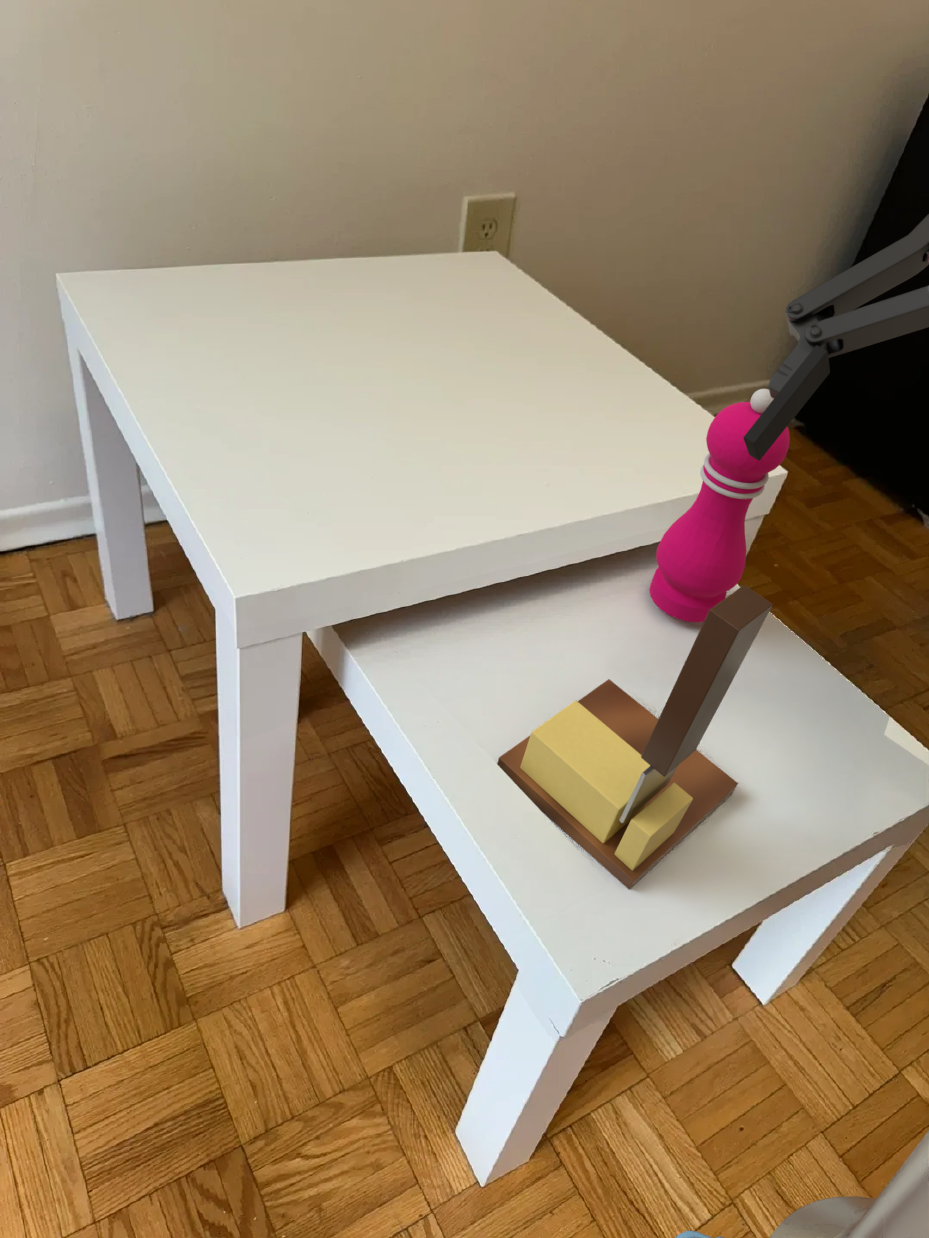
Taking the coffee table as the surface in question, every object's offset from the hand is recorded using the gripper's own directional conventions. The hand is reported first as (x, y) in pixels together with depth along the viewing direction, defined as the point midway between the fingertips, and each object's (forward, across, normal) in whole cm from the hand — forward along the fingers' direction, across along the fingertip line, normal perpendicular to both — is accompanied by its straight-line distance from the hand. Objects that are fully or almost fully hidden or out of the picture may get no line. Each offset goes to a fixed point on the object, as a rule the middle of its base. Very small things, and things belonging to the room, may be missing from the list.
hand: (852, 512), depth 51 cm
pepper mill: (+8, +12, -26) cm, 29 cm away
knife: (+21, 0, -6) cm, 21 cm away
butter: (+23, +3, -8) cm, 24 cm away
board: (+22, +3, -12) cm, 25 cm away
